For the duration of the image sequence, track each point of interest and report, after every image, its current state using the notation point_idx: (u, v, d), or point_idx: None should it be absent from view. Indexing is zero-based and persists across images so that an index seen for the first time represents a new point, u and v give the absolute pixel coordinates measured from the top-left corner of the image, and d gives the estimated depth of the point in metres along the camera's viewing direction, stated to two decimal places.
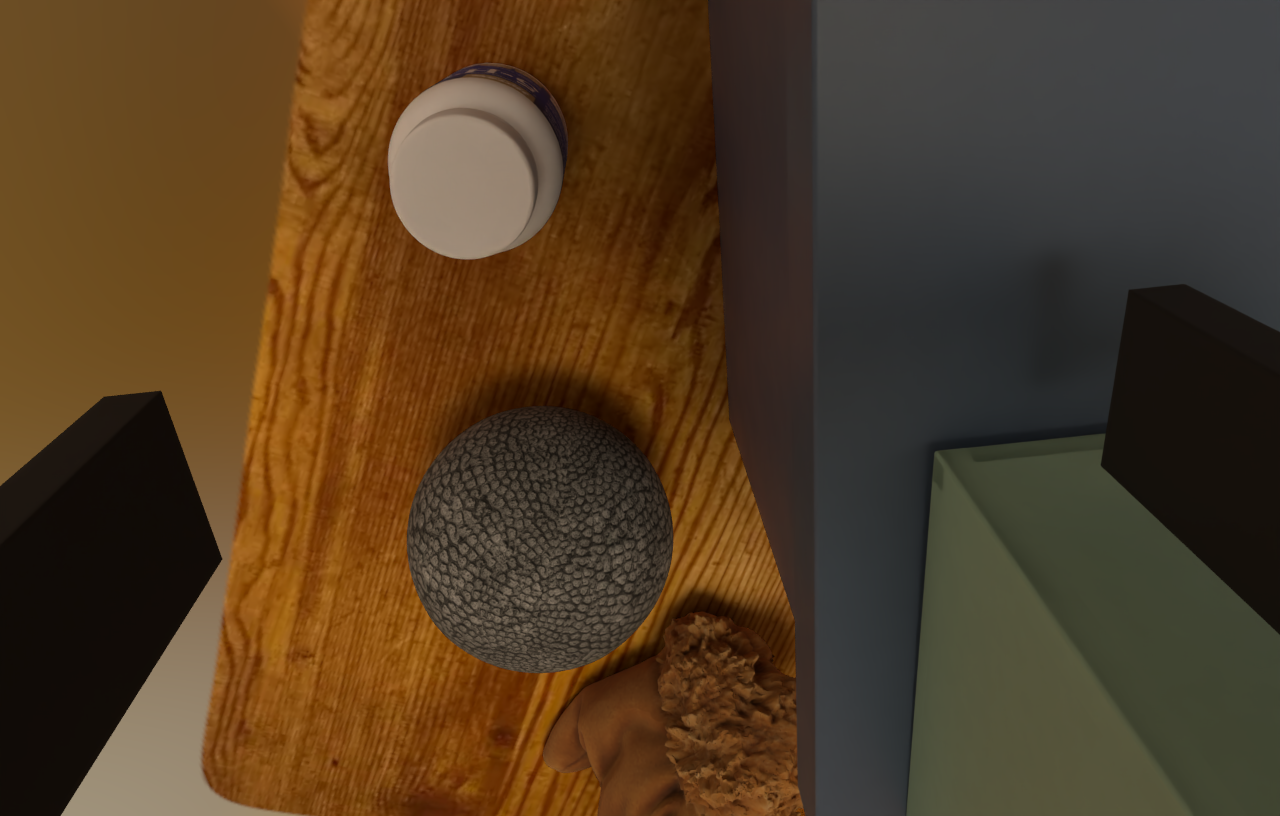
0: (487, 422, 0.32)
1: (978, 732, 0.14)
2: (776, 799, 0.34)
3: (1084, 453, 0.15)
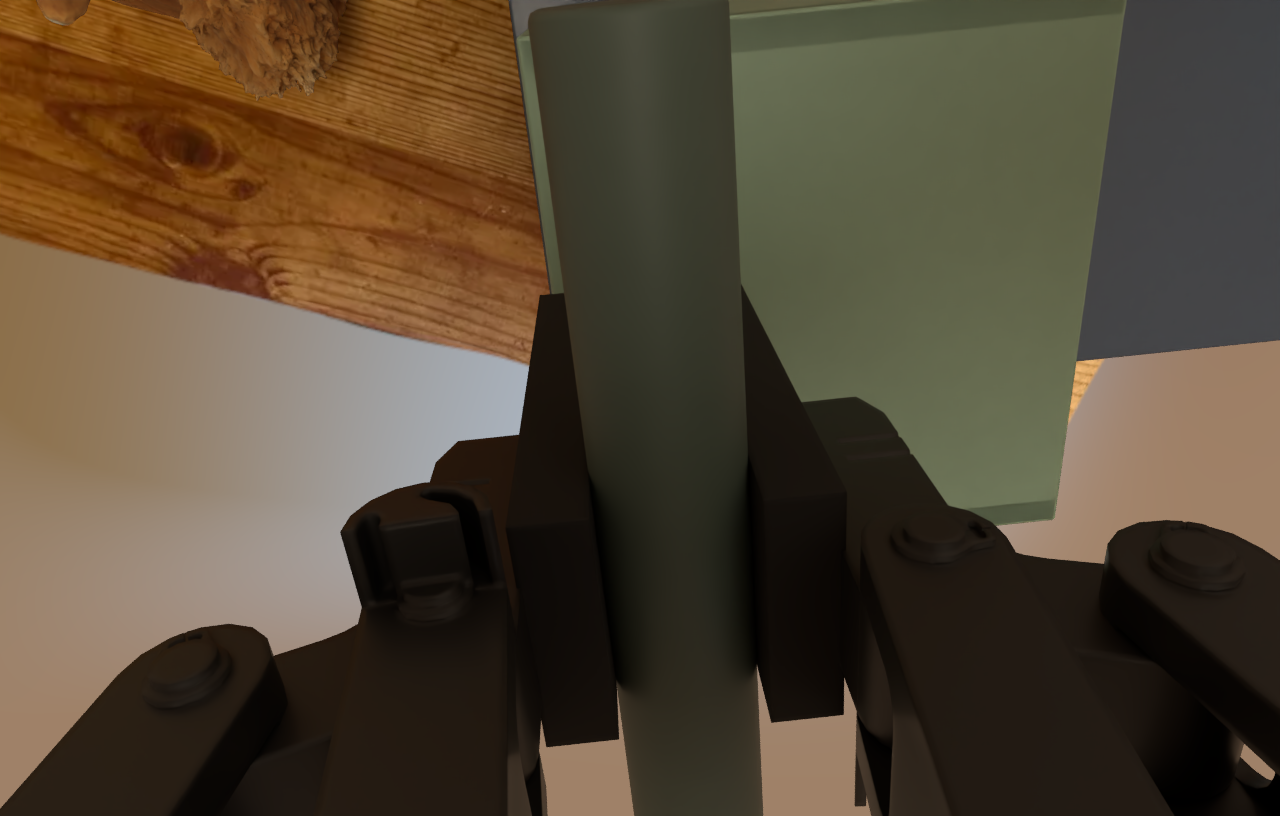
0: None
1: None
2: (243, 1, 0.32)
3: None
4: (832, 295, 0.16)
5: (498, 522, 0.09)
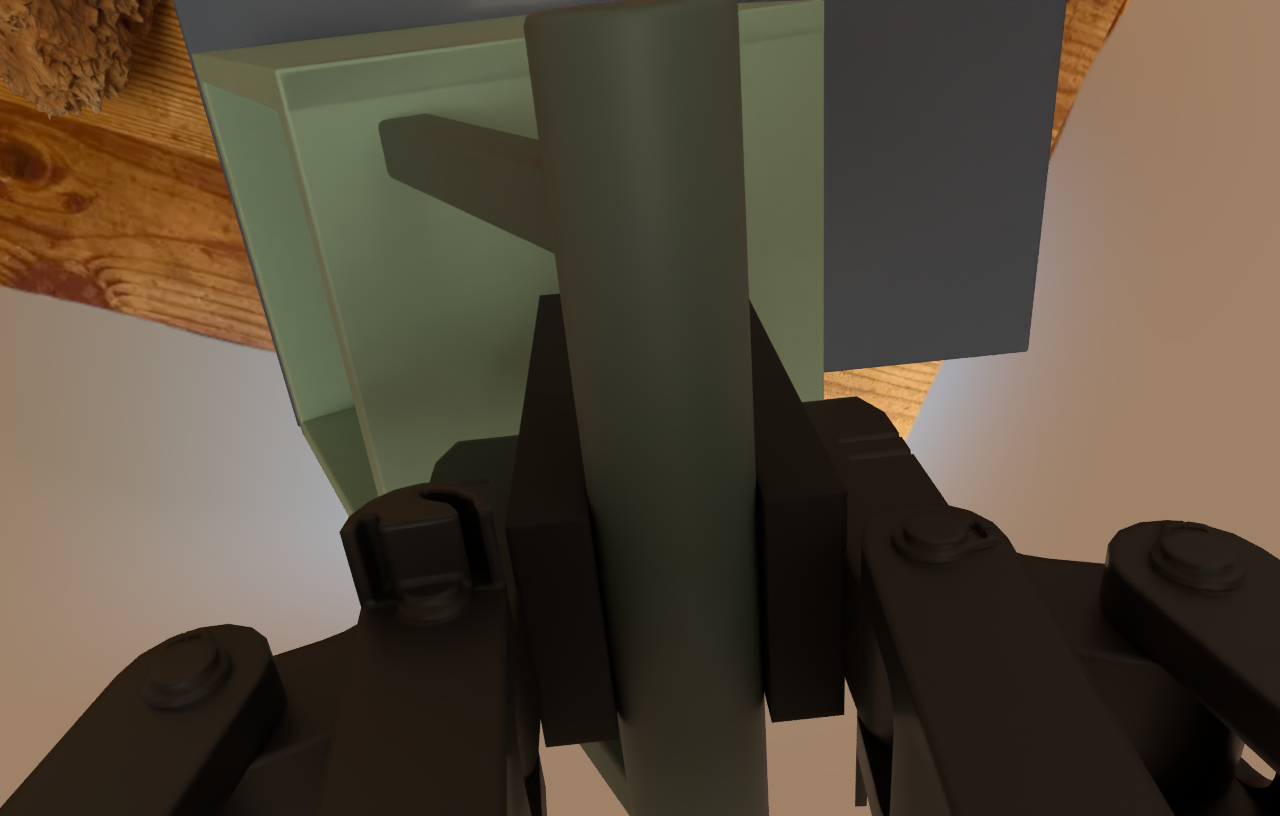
0: None
1: (466, 25, 0.21)
2: (12, 26, 0.33)
3: None
4: None
5: (498, 523, 0.09)
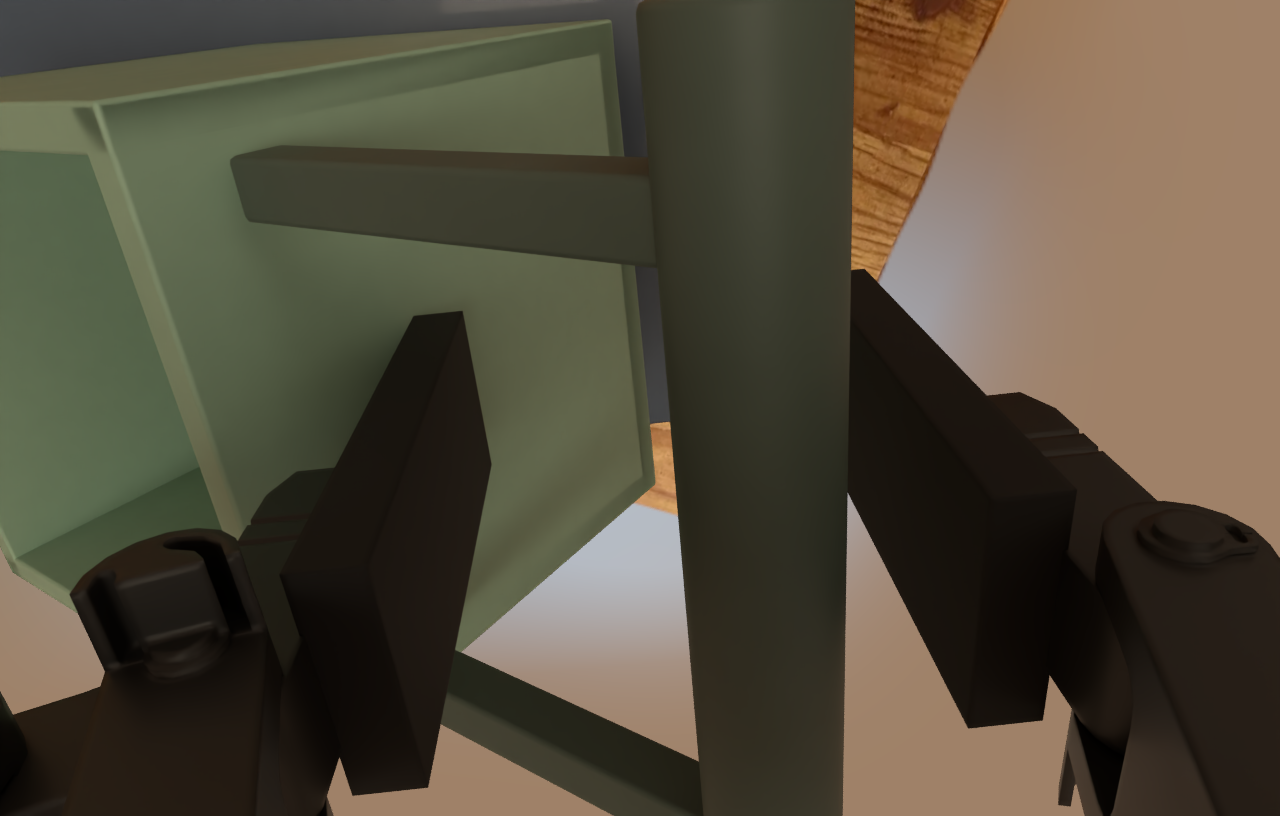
0: None
1: (179, 58, 0.18)
2: None
3: None
4: (483, 344, 0.15)
5: None
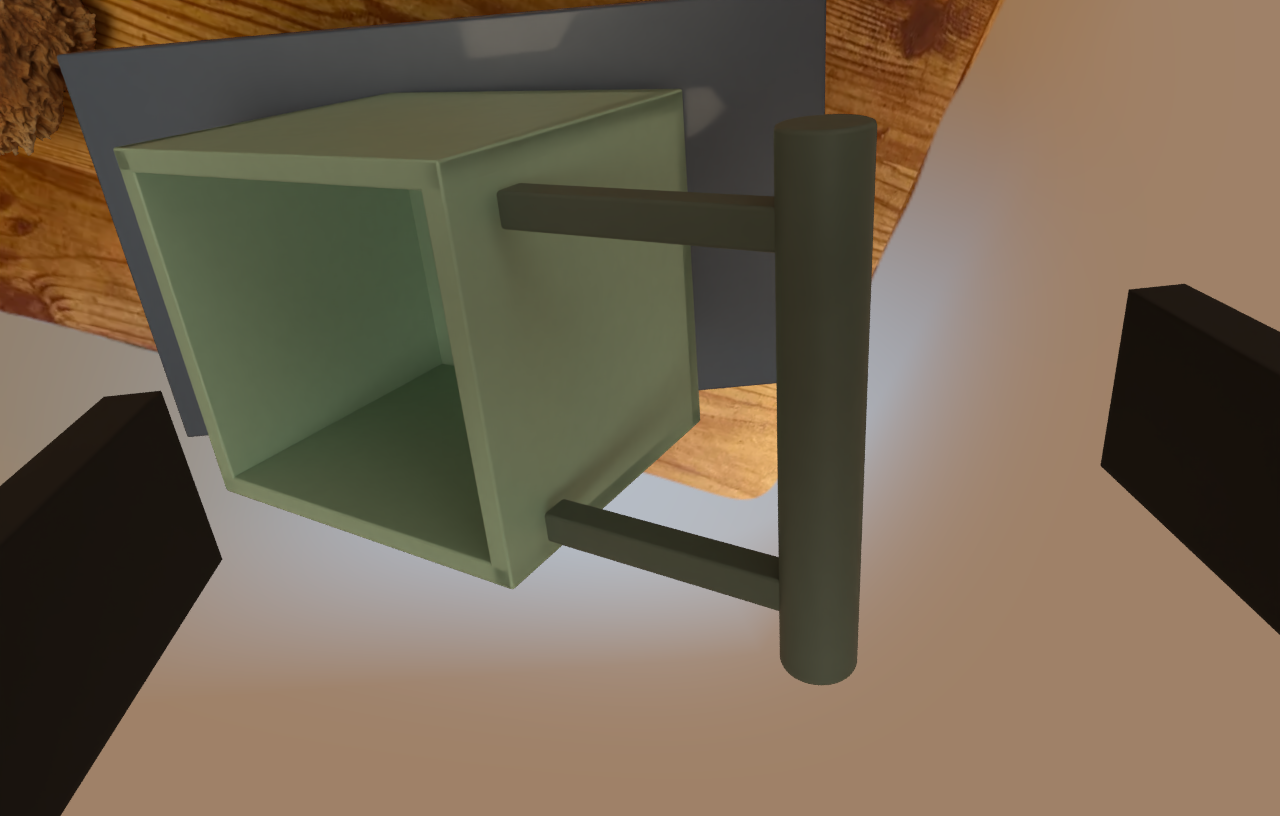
0: None
1: (364, 110, 0.25)
2: None
3: None
4: (605, 311, 0.22)
5: None
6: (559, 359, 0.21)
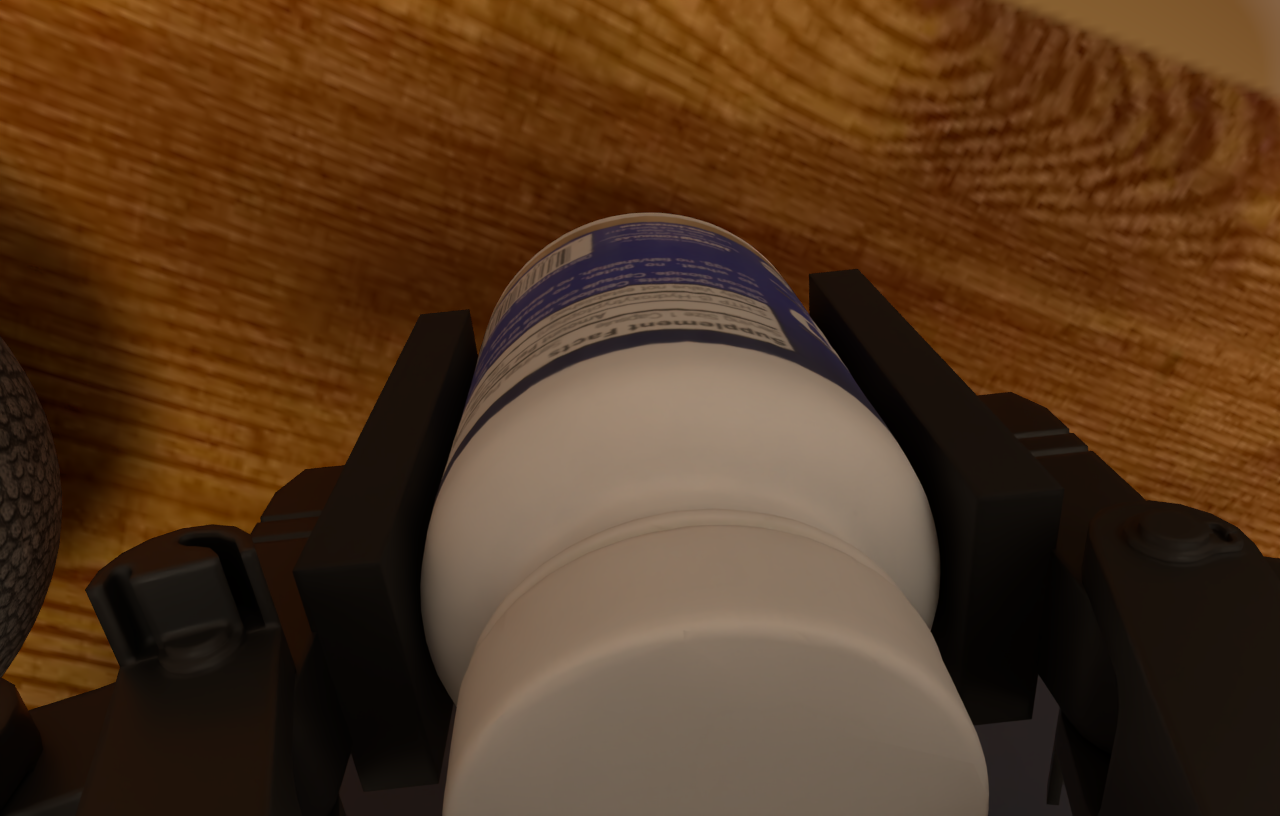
0: None
1: None
2: None
3: None
4: None
5: None
6: None
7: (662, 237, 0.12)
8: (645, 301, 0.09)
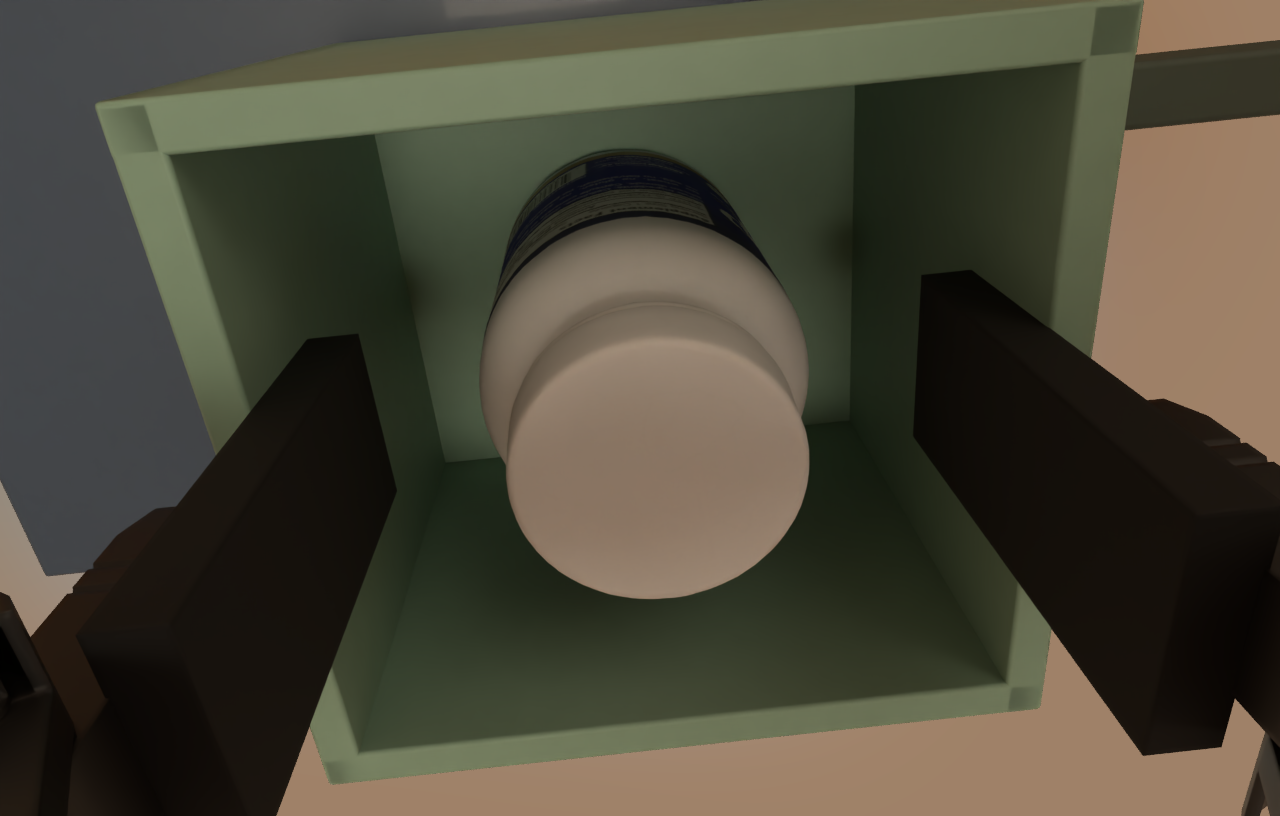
0: None
1: (444, 41, 0.14)
2: None
3: None
4: None
5: None
6: None
7: (635, 164, 0.16)
8: (620, 198, 0.14)
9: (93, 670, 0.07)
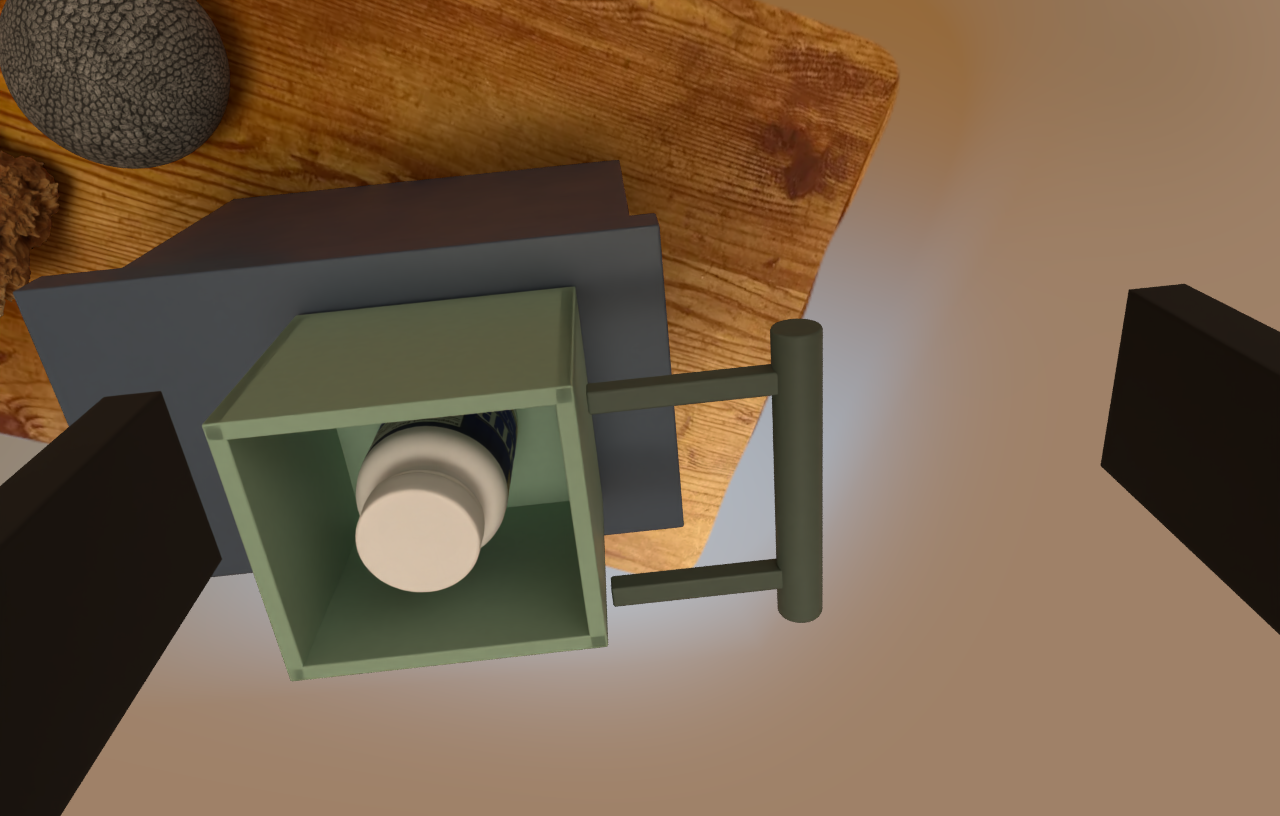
0: (211, 25, 0.44)
1: (343, 342, 0.31)
2: None
3: None
4: (589, 445, 0.33)
5: None
6: (591, 486, 0.31)
7: None
8: None
9: None
